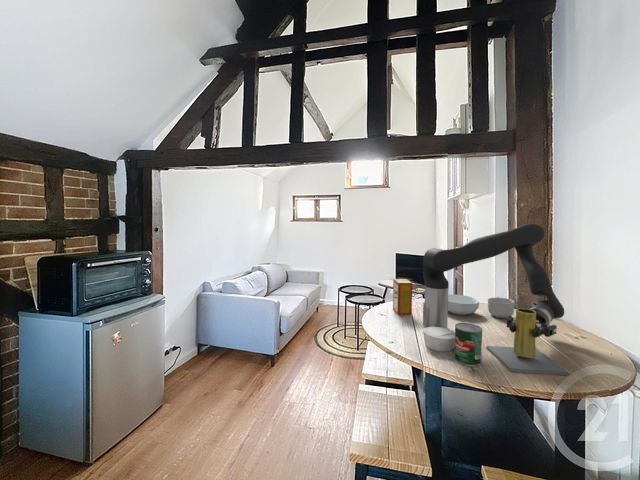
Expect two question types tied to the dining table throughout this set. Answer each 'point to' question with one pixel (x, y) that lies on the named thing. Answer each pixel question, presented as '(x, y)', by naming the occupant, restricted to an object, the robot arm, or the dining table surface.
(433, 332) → the ramekin
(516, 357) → the slate mat
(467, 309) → the cereal bowl
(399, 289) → the baking soda box
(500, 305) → the teacup
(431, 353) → the dining table surface
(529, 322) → the vase
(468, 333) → the canned tomato
